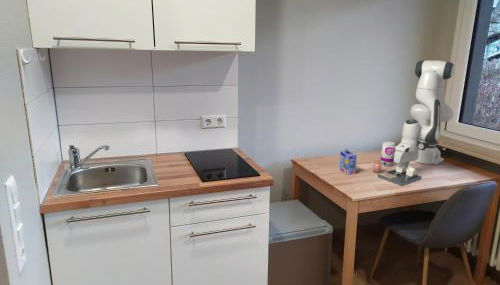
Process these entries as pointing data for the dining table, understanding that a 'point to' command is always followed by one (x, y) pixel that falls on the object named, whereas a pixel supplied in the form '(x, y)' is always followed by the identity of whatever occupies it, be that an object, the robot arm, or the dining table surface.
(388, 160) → the supplement can
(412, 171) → the toggle
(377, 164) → the cap
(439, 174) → the dining table surface
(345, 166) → the ink cartridge box
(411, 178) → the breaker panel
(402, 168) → the toggle
